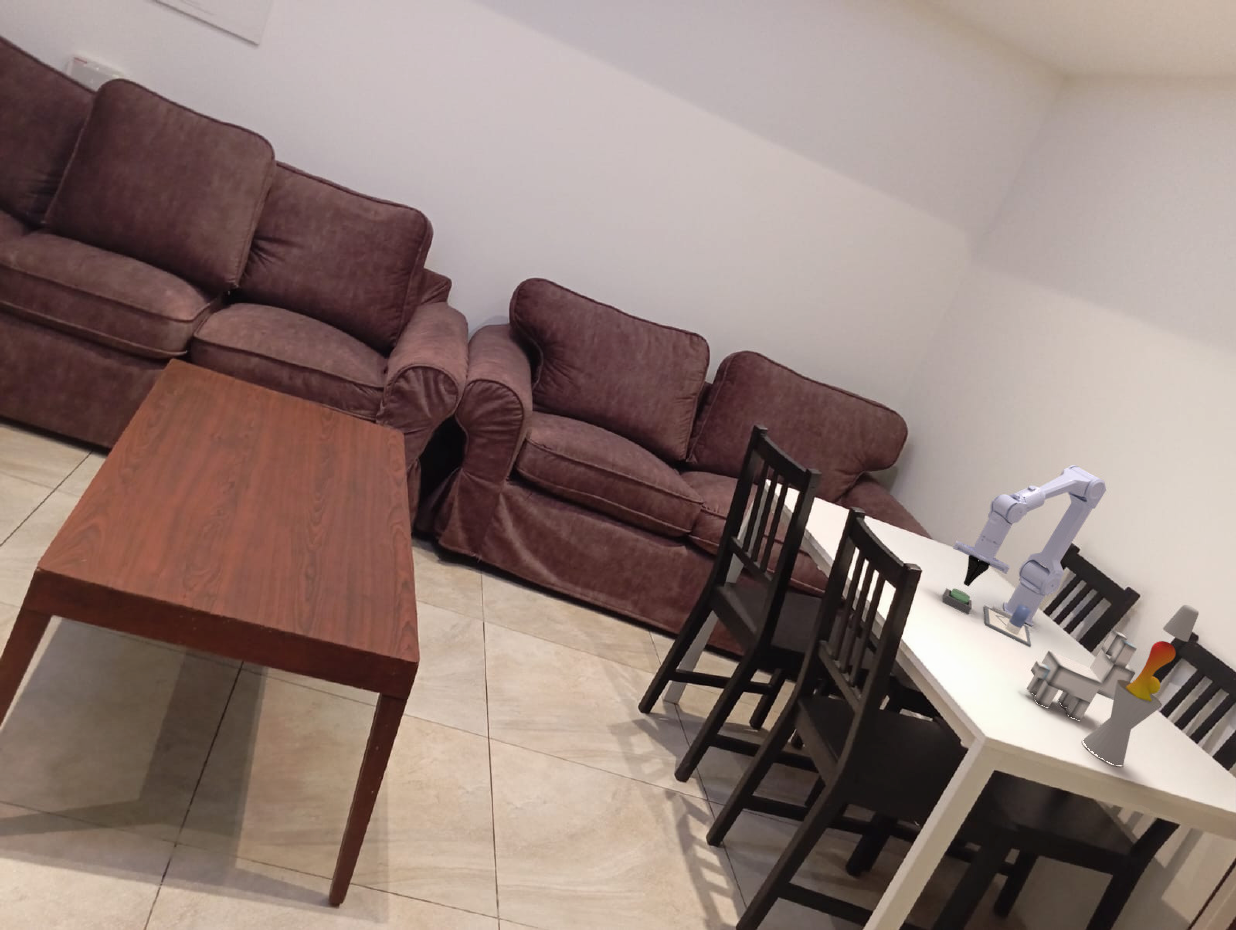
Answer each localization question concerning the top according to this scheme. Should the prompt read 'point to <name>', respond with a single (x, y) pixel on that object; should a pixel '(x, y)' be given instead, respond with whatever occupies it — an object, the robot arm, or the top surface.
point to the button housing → (956, 602)
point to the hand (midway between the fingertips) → (966, 584)
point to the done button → (960, 596)
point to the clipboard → (1004, 624)
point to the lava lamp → (1138, 694)
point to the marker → (1018, 619)
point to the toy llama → (1082, 676)
